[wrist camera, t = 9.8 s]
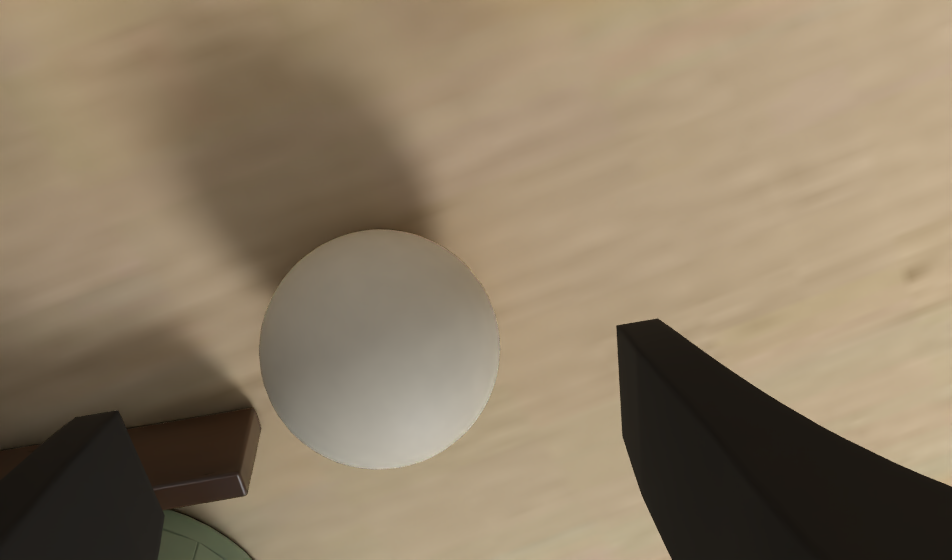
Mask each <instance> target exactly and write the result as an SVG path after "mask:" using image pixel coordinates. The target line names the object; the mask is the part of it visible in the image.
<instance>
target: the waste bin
mask: <svg viewBox="0 0 952 560" xmlns="http://www.w3.org/2000/svg"><path fill="white" fill-rule="evenodd" d="M163 513H164V515H165V517H164V524H163V530H162V537H161V543H160V550H159V555H158V560H252V559H251V558H250V557H249V556H248V554H247V553H246V552H245V551H244V550H242V549H241V548H240V547H239V546H237V545H236V544H235V543H234V542H232V541H231V540H230V539H229V538H227V537H226V536H224V535H222V534H221V533H219V532H218V531H216V530H214V529H213V528H211V527H210V526H208V525H206V524H203V523H201V522H199V521H197V520H195V519H193V518H191V517H189V516H186V515H184V514H181V513H178V512H175V511H172V510H170V509H168V510H163Z"/></svg>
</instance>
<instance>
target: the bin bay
mask: <svg viewBox="0 0 952 560" xmlns="http://www.w3.org/2000/svg"><path fill="white" fill-rule="evenodd" d="M127 431H128V433H129V436H130V438H131V440H132V442H133V445H134V447H135V449H136V451H137V454H138V456H139V458H140V461H141V463H142V465H143V467H144V470H145V472H146V474H147V476H148V479H149V481H150V483H151V485H152V488H153V490H154V492H155V494H156V497H157V499H158V501H159V503H160V506H161V508H162V510H168V509H174V508H179V507H185V506H191V505H196V504H202V503H208V502H214V501H219V500H225V499H231V498H236V497H242V496H245V495H247V493H248V488H249V484H250V479H251V475H252V470H253V465H254V461H255V456H256V451H257V447H258V442H259V437H260V433H261V425H260V422H259V419H258V416H257V413H256V411H255V409H254V408H247V409H241V410H235V411H229V412H224V413H218V414H212V415H206V416H200V417H194V418H189V419H183V420H177V421H171V422H165V423H159V424H154V425H148V426H142V427H136V428H130V429H127ZM40 445H41V444H37V445H31V446H25V447H19V448H14V449H8V450H2V451H0V480H1V479H2V478H4V477H5V476H6V475H7V474H8V473H9V472H10V471H12V470H13V469H14V468H15V467H16V466H17V465H18V464H19V463H21V462H22V461H23V460H24V459H25V458H26V457H27V456H29V455H30V454H31V453H32V452H33V451H34V450H35V449H37V448H38V447H39V446H40Z"/></svg>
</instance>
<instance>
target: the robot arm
mask: <svg viewBox="0 0 952 560" xmlns="http://www.w3.org/2000/svg"><path fill="white" fill-rule="evenodd" d="M617 345H618V363H619V382H620V400H621V418H622V436H623V439H624V442H625V445H626V449H627V452H628V455H629V458H630V461H631V464H632V467H633V470H634V473H635V476H636V479H637V482H638V485H639V488H640V491H641V494H642V497H643V499H644V501H645V503H646V505H647V508H648V510H649V512H650V514H651V516H652V518H653V520H654V523H655V525H656V527H657V529H658V531H659V533H660V535H661V537H662V540H663V542H664V544H665V546H666V548H667V550H668V552H669V554H670V556H671V559H672V560H952V487H951V486H949V485H946V484H944V483H941V482H939V481H936V480H934V479H931V478H929V477H926V476H924V475H921V474H919V473H917V472H914V471H912V470H910V469H908V468H905V467H903V466H901V465H898V464H896V463H894V462H892V461H890V460H888V459H886V458H884V457H881V456H879V455H877V454H875V453H873V452H871V451H869V450H867V449H865V448H863V447H861V446H859V445H857V444H855V443H853V442H851V441H848V440H846V439H844V438H842V437H841V436H839V435H837V434H835V433H833V432H831V431H829V430H827V429H825V428H824V427H822V426H820V425H818V424H816V423H815V422H813V421H811V420H810V419H808V418H806V417H804V416H803V415H801V414H799V413H798V412H796V411H794V410H792V409H791V408H789V407H787V406H785V405H784V404H782V403H780V402H779V401H777V400H776V399H774V398H772V397H771V396H769V395H768V394H766V393H764V392H763V391H761V390H760V389H758V388H757V387H755V386H753V385H752V384H750V383H749V382H747V381H746V380H744V379H743V378H741V377H740V376H738V375H737V374H735V373H734V372H732V371H731V370H729V369H728V368H727V367H725V366H724V365H722V364H721V363H719V362H718V361H716V360H715V359H714V358H712V357H711V356H709V355H708V354H707V353H705V352H704V351H702V350H701V349H700V348H698V347H697V346H695V345H694V344H693V343H691V342H690V341H689V340H687V339H686V338H684V337H683V336H682V335H680V334H679V333H678V332H676V331H675V330H673V329H672V328H671V327H669V326H668V325H666V324H665V323H664V322H662V321H661V320H659V319H653V320H647V321H641V322H635V323H629V324H623V325H617ZM164 517H165V515H164V513H163V510H162V508H161V506H160V503H159V501H158V499H157V497H156V494H155V492H154V490H153V488H152V485H151V483H150V481H149V479H148V476H147V474H146V472H145V470H144V467H143V465H142V463H141V461H140V458H139V456H138V454H137V451H136V449H135V447H134V445H133V442H132V440H131V438H130V436H129V433H128V431H127V429H126V427H125V424H124V422H123V420H122V418H121V415H120V413H119V411H118V410H116V411H110V412H104V413H98V414H92V415H86V416H81V417H75V418H74V419H73V420H71V421H70V422H69V423H67V424H66V425H64V426H63V427H62V428H61V429H59V430H58V431H57V432H56V433H54V434H53V435H52V436H51V437H50V438H48V439H47V440H46V441H45V442H44V443H42V444H41V445H40V446H39V447H38V448H37V449H35V450H34V451H33V452H32V453H31V454H30V455H29V456H27V457H26V458H25V459H24V460H23V461H22V462H21V463H19V464H18V465H17V466H16V467H15V468H14V469H13V470H12V471H10V472H9V473H8V474H7V475H6V476H5V477H4V478H2V479H1V480H0V560H158V555H159V550H160V543H161V537H162V530H163V524H164Z"/></svg>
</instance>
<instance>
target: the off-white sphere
mask: <svg viewBox="0 0 952 560" xmlns="http://www.w3.org/2000/svg"><path fill="white" fill-rule="evenodd" d="M259 356H260V367H261V374H262V378H263V382H264V386H265V389H266V391H267V394H268V396H269V399H270V401H271V403H272V406H273V407H274V409H275V411H276V412H277V414H278V416H279V417H280V419H281V420H282V421H283V423H284V424H285V425H286V426H287V428H288V429H289V430H290V431H291V432H292V433H293V434H294V435H295V436H296V437H297V438H298V439H299V440H300V441H301V442H303V443H304V444H305V445H307V446H308V447H310V448H311V449H312V450H314V451H315V452H317V453H319V454H320V455H322V456H324V457H326V458H328V459H330V460H333V461H335V462H337V463H341V464H344V465H348V466H352V467H357V468H364V469H392V468H400V467H404V466H409V465H413V464H416V463H419V462H422V461H425V460H427V459H429V458H431V457H433V456H435V455H437V454H439V453H440V452H442V451H444V450H445V449H447V448H448V447H449V446H450V445H452V444H453V443H454V442H456V441H457V440H458V439H460V438H461V437H462V436H463V435H464V434H465V433H466V432H467V431H468V430H469V429H470V427H471V426H472V425H473V423H474V422H475V421H476V420H477V418H478V417H479V415H480V414H481V412H482V411H483V409H484V407H485V406H486V404H487V402H488V400H489V397H490V395H491V392H492V390H493V387H494V384H495V381H496V377H497V373H498V367H499V357H500V338H499V329H498V324H497V319H496V315H495V312H494V310H493V307H492V305H491V302H490V300H489V297H488V295H487V293H486V291H485V290H484V288H483V286H482V284H481V283H480V281H479V280H478V279H477V278H476V276H475V275H474V274H473V272H472V271H471V270H470V269H469V267H468V266H467V265H466V264H464V263H463V262H462V261H461V260H460V259H459V258H458V257H457V256H455V255H454V254H453V253H451V252H450V251H449V250H447V249H446V248H444V247H442V246H441V245H439V244H437V243H435V242H433V241H431V240H429V239H427V238H424V237H421V236H419V235H415V234H412V233H408V232H403V231H396V230H378V229H375V230H365V231H359V232H354V233H350V234H346V235H343V236H340V237H338V238H335V239H332V240H330V241H328V242H327V243H325V244H323V245H321V246H319V247H317V248H316V249H314V250H313V251H312V252H310V253H309V254H307V255H306V256H304V257H303V258H302V259H301V260H300V261H299V262H298V263H297V264H295V265H294V266H293V268H292V269H291V270H290V271H289V272H288V274H287V275H286V276H285V277H284V278H283V280H282V281H281V282H280V284H279V286H278V287H277V289H276V290H275V292H274V294H273V296H272V298H271V300H270V303H269V305H268V308H267V310H266V313H265V315H264V319H263V323H262V327H261V334H260V345H259Z"/></svg>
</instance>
